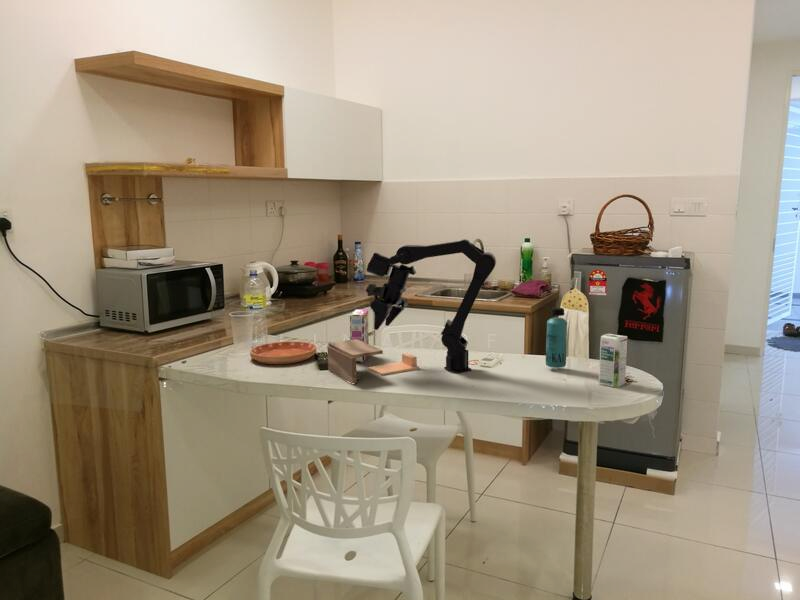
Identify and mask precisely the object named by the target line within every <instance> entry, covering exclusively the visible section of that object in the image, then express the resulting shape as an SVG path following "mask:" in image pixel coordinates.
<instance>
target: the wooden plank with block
mask: <svg viewBox="0 0 800 600" xmlns="http://www.w3.org/2000/svg"><path fill="white" fill-rule="evenodd" d="M401 358H402V359H401V361H397V362H396V361H395V362H391V363H384V364H378V365H373V366H368V367H367V369H368V370H369V371H371V372H373V373H375V374H377V373H378V374H380V375H383V376H386V375H385V374H389V375H392V374H391V373H394V374H398V373H397V372H400V373H404V372H403V371H406V372H410V371H417V370H420V366H418V364H417V363H418V360H417V359H418V357H417V356H415V355H413V354H411V353H408V352H405V353H402V354H401ZM378 374H377V375H378ZM380 375H379V376H380Z"/></svg>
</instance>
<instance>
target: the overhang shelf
mask: <svg viewBox="0 0 800 600" xmlns="http://www.w3.org/2000/svg"><path fill="white" fill-rule="evenodd" d="M326 348H327V369H328V370H329V371H328V372H331V373H332V374H333V373H334V375H335V374H336V375H335V376H337V375H338V376H337V377H338V378H340V377H341V378H340V379H342V378H343V379H342V380H344V379H345V380H347V381H349V382H351V383H358V380H357V379H360V378H361V379H362V377H361V372H359V371H358V370H357V362H356V358H358V357H365V356H367V357H369V356H370V357H372V356H376V355H377V356H378V355H383V353H384V351H383V350H382V349H381V348H378V347H376V346H373V345H371V344H370V343H369V344H367V343H364V342H362V341H360V340H357V339H355V340H350V339H349V340H344V341H343V340H342V341H335V342H329V343H328V346H327V347H326ZM361 379H360V380H361ZM345 380H344V381H345ZM347 381H346V382H347ZM349 382H348V383H349ZM351 383H350V384H351Z"/></svg>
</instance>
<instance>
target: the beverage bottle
mask: <svg viewBox="0 0 800 600" xmlns="http://www.w3.org/2000/svg"><path fill="white" fill-rule="evenodd" d="M550 316H554V317H551V318H549V319H548V320H547V321H546V339H545V340H546V342H545V344H546V345H545V358H544V359H545V360H544V361H545V365H546V366H547V367H549V368H554V369H555V368H556V369H560V368H565V366H566V365H567V360H568V359H567V354H568V353H567V352H568V351H567V348H568V347H567V346H568V342H567V341H568V340H567V337H568V336H567V335H568V321H567V320H566V319H564V318H562V317H561V316H565V308H563V307H551V309H550ZM555 316H556V317H555Z"/></svg>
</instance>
